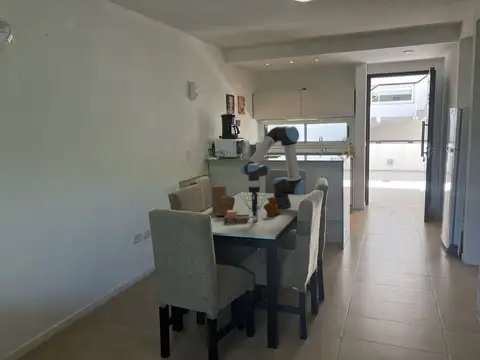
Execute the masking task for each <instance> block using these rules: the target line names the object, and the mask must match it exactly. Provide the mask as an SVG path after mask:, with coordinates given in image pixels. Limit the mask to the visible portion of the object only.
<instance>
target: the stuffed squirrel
mask: <svg viewBox="0 0 480 360" xmlns="http://www.w3.org/2000/svg"><path fill="white" fill-rule="evenodd" d="M266 199H267V201H268V203H265V204H264V205H263V207H262V209H264V210H265V212H266V214H267V216H268V217H274V216H279V215H281V214H282V211H280V210H279V208H277V207H278V205H277V204H275V199H276V198H274V196H270V197H269V198H268V197H267V198H266Z"/></svg>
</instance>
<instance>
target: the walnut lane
mask: <svg viewBox="0 0 480 360" xmlns="http://www.w3.org/2000/svg"><path fill="white" fill-rule="evenodd" d="M248 216H250V215H249V214H237V217H248ZM249 220H250V218H227V215H226V216H224V218H223V223H224V224H247V223H248V222H249Z"/></svg>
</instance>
